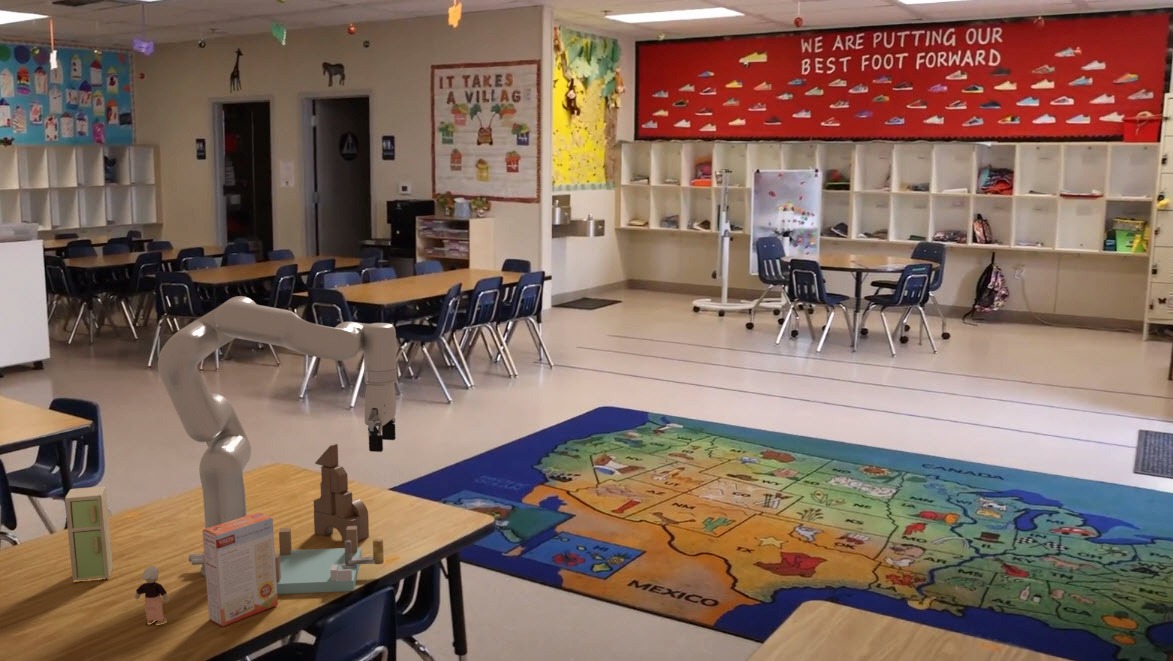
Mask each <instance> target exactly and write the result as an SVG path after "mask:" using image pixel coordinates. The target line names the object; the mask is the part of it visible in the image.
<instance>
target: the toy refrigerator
mask: <svg viewBox="0 0 1173 661" xmlns="http://www.w3.org/2000/svg"><path fill="white" fill-rule="evenodd" d="M107 496H108V495H107V487H106V486H92V487H91V486H90V487H79V488H78V487H77V488H71V489H69V491H68V492H67V494H66V495H65V497H64V502H65V503H64V504H65V514H66V524H67V534H68V544H69V546H68V547H69V556H70V567H71V575H72V582H73V581H74V580H88V579H97V578H109V576H110V577H111V575H110V573H111V571H112V572H113V570H112V569H114V564H113V553H112V541H111V531H110V528H111V527H110V521H109V508H108V506H109V505H108V497H107ZM111 574H112V573H111ZM109 579H110V578H109Z"/></svg>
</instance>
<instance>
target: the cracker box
mask: <svg viewBox="0 0 1173 661" xmlns="http://www.w3.org/2000/svg"><path fill="white" fill-rule="evenodd" d="M274 535H275V534H274V518H273V517H272V516H269V515H267V514H264V513H261V512H259V511H257V512H255V513H251V514H249V515H248V514H247V516H245V517H241V518H238V519H235V520H232V521H229V522H225V523H222V524H219V525H216V526H212V527H209V528H206V529H205V528H203V529H202V542H203V543H202V544H203V552H204V558H205V571H206V577H205V581H206V593H207V596H206V597H207V608H208V609H207V610H208V611H207V612H208V619H209V620H210V621H212V622H214V623H215V624H217V625H219V626H221V627H225V626H228V625H231V624H233V623H235V622H238V621H240V620H243V619H245V618H248V617H251V616H253V615H256V614H258V613H261V612H263V611H267V610H268V609H272V608H274V607H276V606H278V604H279V603H278V594H277V582H276V565H275V554H276V553H275V551H276V550H275V536H274Z"/></svg>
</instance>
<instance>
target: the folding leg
mask: <svg viewBox="0 0 1173 661" xmlns="http://www.w3.org/2000/svg"><path fill="white" fill-rule="evenodd" d="M343 543H344V548H345V564H346V565H352V564H360V565H371V564H372V565H373V564H374V565H382V564H383V563H384V539H382V538H375V539H374V538H373V540H372V553H373V554H372V556H362V557H354V558H352V545H351V541H350V540H347V541H345V542H343Z"/></svg>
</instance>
